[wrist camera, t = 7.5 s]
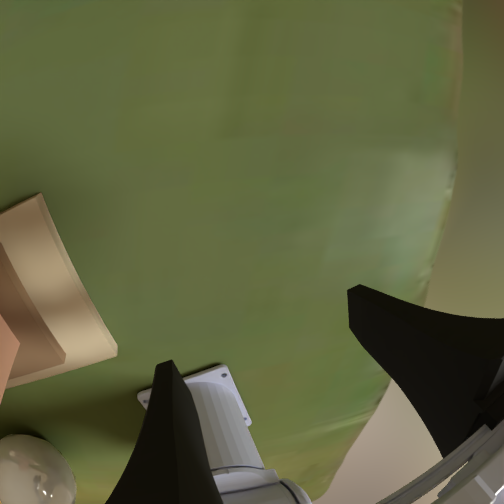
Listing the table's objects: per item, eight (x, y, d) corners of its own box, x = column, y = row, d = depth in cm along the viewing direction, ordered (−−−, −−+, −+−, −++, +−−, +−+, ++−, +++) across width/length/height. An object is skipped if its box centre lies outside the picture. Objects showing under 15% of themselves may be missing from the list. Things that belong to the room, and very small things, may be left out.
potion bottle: (86, 443, 27) (-24, 416, 23) (58, 445, 19) (-70, 404, 15) (91, 518, 22) (-22, 486, 18) (67, 543, 14) (-66, 491, 10)
